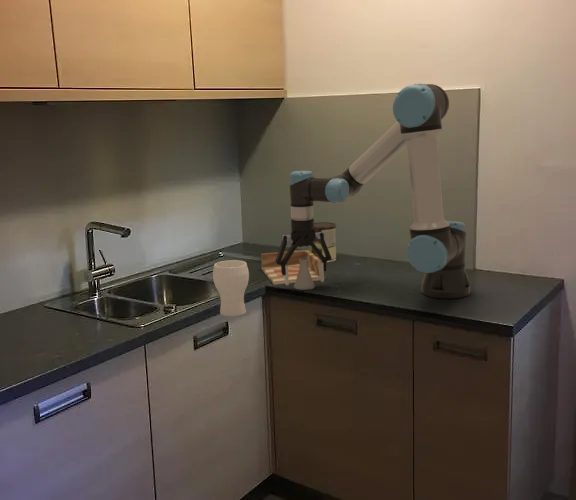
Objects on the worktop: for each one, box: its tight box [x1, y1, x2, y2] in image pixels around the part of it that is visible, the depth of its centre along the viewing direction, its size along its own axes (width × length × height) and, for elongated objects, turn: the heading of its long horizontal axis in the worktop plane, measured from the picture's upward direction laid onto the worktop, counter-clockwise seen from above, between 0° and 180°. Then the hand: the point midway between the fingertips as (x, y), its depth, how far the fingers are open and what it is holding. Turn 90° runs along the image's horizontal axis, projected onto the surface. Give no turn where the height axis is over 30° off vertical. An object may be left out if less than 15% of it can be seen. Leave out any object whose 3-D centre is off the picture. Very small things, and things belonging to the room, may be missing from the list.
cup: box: [212, 259, 250, 317], centre depth 197 cm, size 11×11×15 cm
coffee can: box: [309, 221, 337, 264], centre depth 258 cm, size 10×10×14 cm
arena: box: [260, 249, 321, 286], centre depth 239 cm, size 22×18×6 cm
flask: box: [293, 258, 316, 291], centre depth 221 cm, size 7×7×10 cm
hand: (304, 282), depth 222 cm, fingers open, 11 cm apart
